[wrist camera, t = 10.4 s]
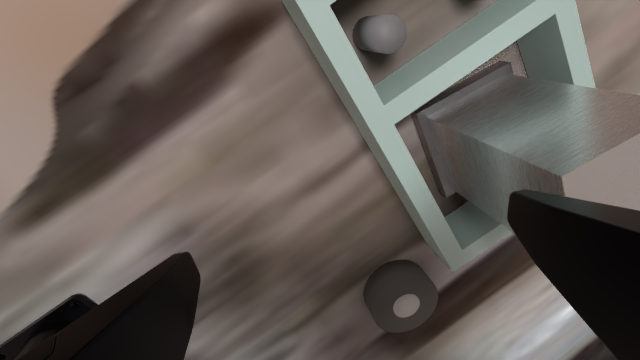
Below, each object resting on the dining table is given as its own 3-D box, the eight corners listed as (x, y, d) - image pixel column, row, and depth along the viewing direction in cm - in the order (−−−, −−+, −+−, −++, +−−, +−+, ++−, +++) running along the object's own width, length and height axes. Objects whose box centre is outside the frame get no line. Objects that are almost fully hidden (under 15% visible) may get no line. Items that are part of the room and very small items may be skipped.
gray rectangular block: (439, 191, 26) (571, 293, 16) (409, 110, 23) (547, 172, 13) (519, 147, 26) (700, 220, 16) (499, 61, 23) (704, 84, 13)
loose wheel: (382, 324, 29) (393, 344, 27) (351, 286, 27) (361, 305, 25) (434, 289, 29) (449, 307, 27) (408, 247, 27) (421, 264, 25)
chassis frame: (427, 244, 27) (453, 272, 24) (281, 0, 19) (292, -5, 16) (568, 148, 27) (613, 164, 24) (482, -141, 19) (534, -176, 15)
